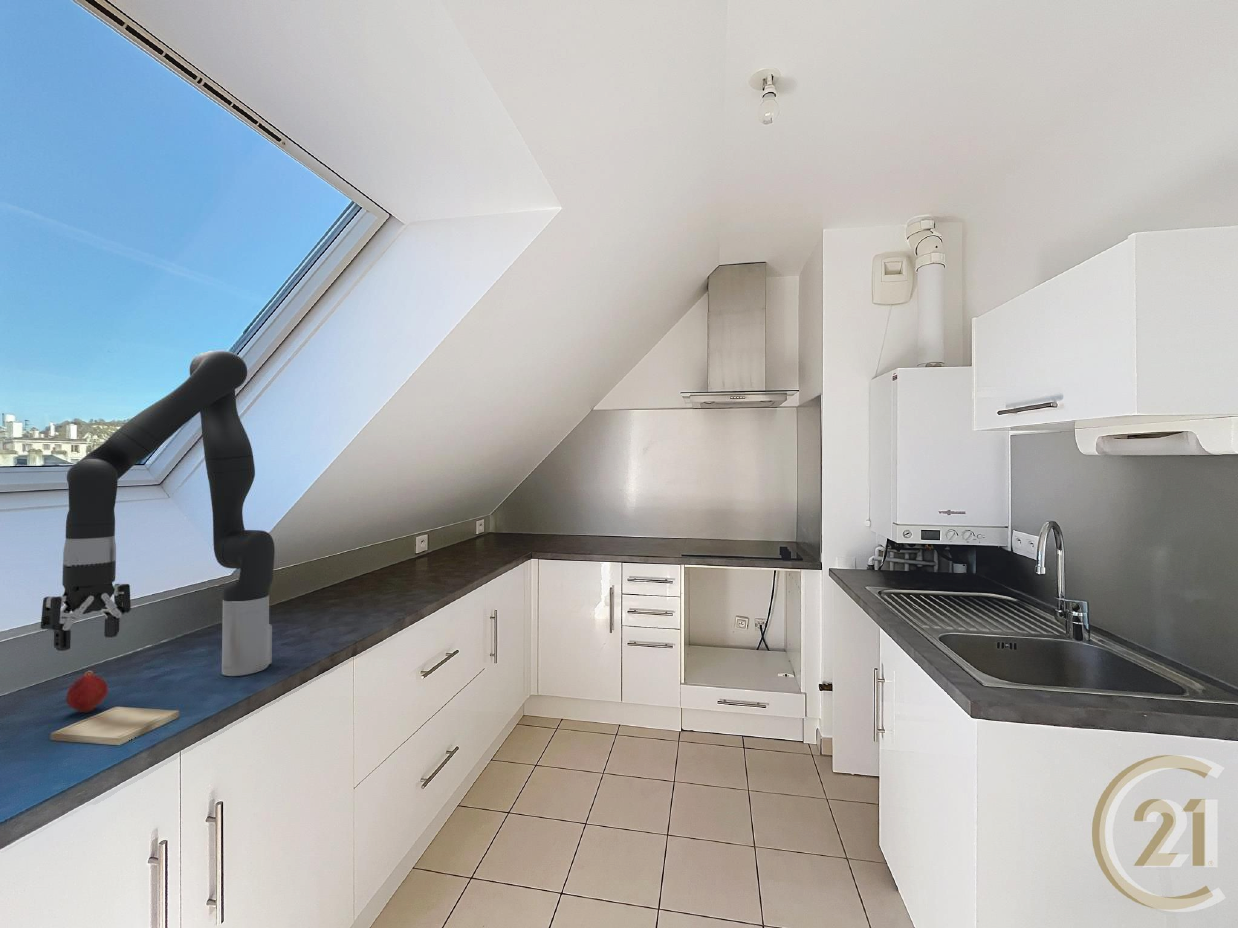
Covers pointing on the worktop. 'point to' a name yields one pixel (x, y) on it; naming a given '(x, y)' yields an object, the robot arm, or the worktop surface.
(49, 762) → the worktop surface
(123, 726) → the board
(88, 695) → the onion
